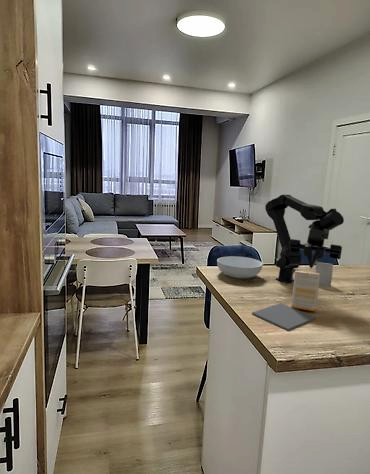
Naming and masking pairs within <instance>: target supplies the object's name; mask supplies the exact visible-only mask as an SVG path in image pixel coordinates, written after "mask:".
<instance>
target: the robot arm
mask: <svg viewBox="0 0 370 474" xmlns="http://www.w3.org/2000/svg"><path fill="white" fill-rule="evenodd" d="M288 207H289V208H291V209H293V210H295V211H297V212H298V213H300V216H301V217H302V218H303V219H304V220H306V221H312V223H311V224H309V226H308V229H309V231H308V236H307V239H306V240H307V241H306V243H303V244H302V243H301V239H293V238H291V236H290V233H289V230H288V226H287V224H286V220H285V215H286V209H287V208H288ZM264 208H265V211H266V214H267V215H268V217H269V218H270V219H271V220H272V221H273V224H274V228H275V232H276V234H277V238H278V240H279V245H280V248H281V249H280V253H279V257H280V258H278V259H277V261H275V264H276V267H277V268H278V269H279V271H278V277H276V278H275V280H276V281H280V282H283V283H285V284H290V283H294V273H295V271H294V270H295V269H299V267H300V264H301V261H302V253H301V250H303V256H304V257H306V258H307V261H308V265H309V266H308V267H309V268H310V269H313V268H314V266H316V263H317V262H320V260H321V259H322V260H323V259H324V258H325V254H329V258H330V259H334V260H341V258H342V257H341V256H342V251H343V247H342V245H339V244H333V243H332V244H330V247H327V246H324V244H325V240H329V236H330V235H329V234H330V231H332V230H334V229H335V228H337V227H339V226H341V225H342V224H343V223H344V221H345V219H344V215H342V214H341V213H340V212H339V211H338V210H337V209H336V208H330V209H329V210H328V211H326V210H324V207H323V206H320V205H315V204H309V203H306V202H304V201H302V200H300V199H298V198H296V197H294V196H292V195H291V194H281V195H279V196H277V197H275V198H272V199H271V200H269V201H267V202H266V204H265V207H264ZM313 252H314V255H313Z"/></svg>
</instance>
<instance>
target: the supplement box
mask: <svg viewBox="0 0 370 474" xmlns="http://www.w3.org/2000/svg"><path fill="white" fill-rule="evenodd" d="M294 270H295V269H294ZM293 279H294V282H293V288H292V299H291V307H292V308H294V309H297V310H304V311H305V310H306V311H310V312H317V305H318V297H319V287H320V286H319V280H320V274H319V273H315V272H313V271H306V270H304V271H303V270H295V271H294V276H293Z"/></svg>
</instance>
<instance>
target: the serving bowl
mask: <svg viewBox="0 0 370 474" xmlns="http://www.w3.org/2000/svg"><path fill="white" fill-rule="evenodd" d="M216 263H217V264H216V265H217V268H218V270H219V271H220V272H221V273H222V274H224V275H226V276H228V277H232V278H235V279H249V278H253V277H255V276H258V275H259V274H260V272H261V271H262V269H263V266H264V263H263V262H262V261H260V260H258V259H255V258H251V257H247V256H246V257H245V256H222V257H219V258H217V260H216Z"/></svg>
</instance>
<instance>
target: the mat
mask: <svg viewBox="0 0 370 474" xmlns="http://www.w3.org/2000/svg"><path fill="white" fill-rule="evenodd" d="M251 315H253V316H255V317H258V318H259V319H261V320H263V321H265V322H268V323H271V324H273V325H275V326H277V327H278V328H281V329H284V330H286V331H291V330H293V329H296V328H298V327H300V326H302V325H305V324H308V323H310V322H312V321H315V320H317V317H316V316H315V315H311V314H309V313H307V312H304V311H303V310H300V309H297V308H292V306H290V305H289V306H288V305H286V304H283V303H278V304H274V305H270V306H268V307H265V308H262V309H259V310H256V311H252V312H251Z"/></svg>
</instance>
